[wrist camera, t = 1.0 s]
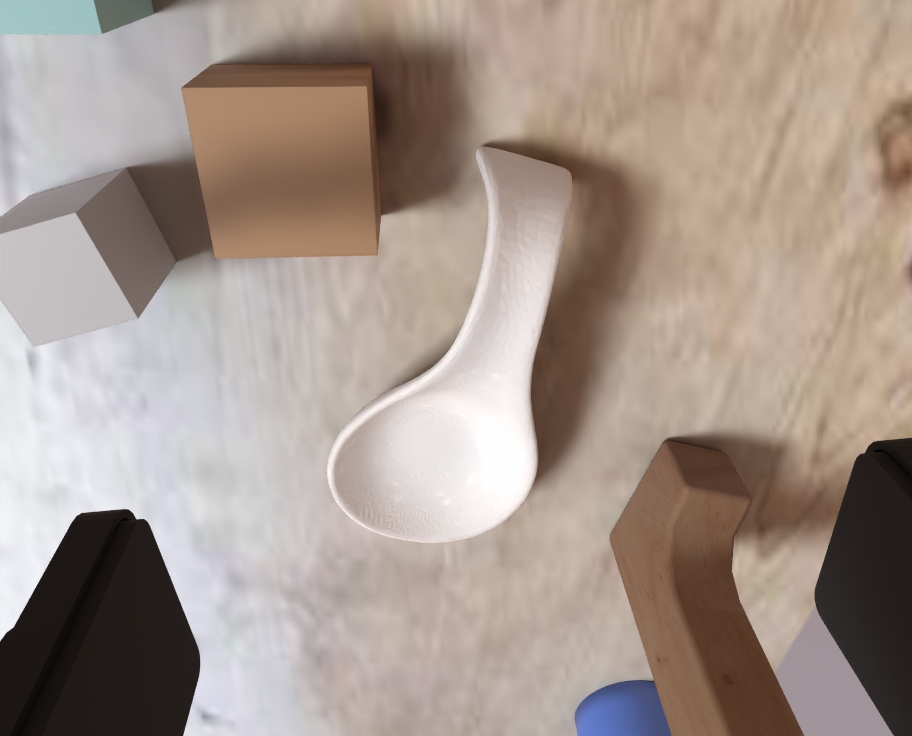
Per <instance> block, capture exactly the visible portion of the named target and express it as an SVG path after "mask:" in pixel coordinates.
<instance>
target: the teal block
mask: <svg viewBox="0 0 912 736" xmlns="http://www.w3.org/2000/svg"><path fill="white" fill-rule="evenodd" d="M153 14H154V10H153V5H152V0H0V34H103V33H106V32H108V31H111V30H113V29H116V28H119V27H121V26H124V25H127V24H129V23H132V22H134V21H137V20H140V19H142V18H145V17H148V16H150V15H153Z"/></svg>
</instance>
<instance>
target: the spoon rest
mask: <svg viewBox="0 0 912 736" xmlns="http://www.w3.org/2000/svg"><path fill="white" fill-rule="evenodd" d="M476 159H477V162H478V165H479V168H480V171H481V174H482V177H483V180H484V183H485V187H486V192H487V199H488V212H489V220H488V233H487V242H486V249H485V254H484V259H483V264H482V268H481V272H480V276H479V280H478V284H477V287H476V290H475V294H474V297H473V300H472V303H471V306H470V308H469V311H468V314H467V316H466V319H465V321H464V323H463V326H462V328H461V330H460V332H459V334H458V336H457V338H456V340H455V342H454V343H453V345H452V346H451V348H450V349H449V350H448V352H447V353H446V354H445V355H444V357H443V358H442V359H441V360H440V361H439V362H437V363H436V364H435V365H434V366H433V367H432V368H430V369H429V370H427V371H426V372H424V373H423V374H421V375H419V376H418V377H416V378H414V379H412V380H410V381H408V382H406V383H404V384H402V385H400V386H398V387H396V388H393V389H391V390H389V391H387V392H386V393H384V394H382V395H380V396H379V397H377V398H376V399H374V400H373V401H371V402H370V403H369V404H367V405H366V406H365V407H364V408H362V409H361V410H360V411H359V412H358V413H357V414H356V415H355V416H354V417H353V418H352V419H351V420H350V421H349V422H348V423H347V424H346V426H345V427H344V428H343V429H342V431H341V432H340V434H339V435H338V437H337V439H336V441H335V442H334V445H333V447H332V450H331V452H330V456H329V459H328V463H327V477H328V483H329V486H330V490H331V492H332V495H333V497H334V499H335V501H336V502H337V504H338V505H339V506H340V507H341V509H342V510H343V511H344V512H345V513H346V514H347V515H348V516H349V517H350V518H352V519H353V520H354V521H356V522H357V523H358V524H360V525H362V526H363V527H365V528H367V529H369V530H371V531H374V532H376V533H378V534H381V535H384V536H388V537H391V538H396V539H402V540H407V541H415V542H423V543H439V542H450V541H457V540H462V539H467V538H470V537H473V536H476V535H479V534H482V533H484V532H486V531H488V530H490V529H492V528H494V527H496V526H497V525H499V524H500V523H502V522H503V521H505V520H506V519H507V518H509V517H510V516H511V515H512V514H513V513H514V512H515V511H516V510H517V509H518V508H519V507H520V506H521V504H522V503H523V502H524V501H525V499H526V498H527V496H528V495H529V493H530V491H531V489H532V486H533V484H534V481H535V477H536V474H537V467H538V446H537V438H536V432H535V426H534V419H533V413H532V403H531V382H532V370H533V363H534V358H535V354H536V350H537V347H538V342H539V340H540V336H541V332H542V328H543V324H544V321H545V317H546V313H547V308H548V305H549V300H550V296H551V292H552V288H553V284H554V279H555V275H556V271H557V266H558V263H559V259H560V255H561V250H562V246H563V242H564V237H565V232H566V228H567V223H568V218H569V212H570V208H571V202H572V194H573V186H572V176H571V173H570V172H569V171H568V170H567V169H565V168H563V167H560V166H557V165H554V164H551V163H547V162H544V161H540V160H536V159H533V158H530V157H526V156H523V155H519V154H515V153H512V152H508V151H504V150H500V149H496V148H491V147H479V148H478V149H477V150H476Z"/></svg>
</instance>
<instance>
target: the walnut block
mask: <svg viewBox="0 0 912 736" xmlns="http://www.w3.org/2000/svg"><path fill="white" fill-rule="evenodd" d="M181 89H182V94H183V99H184V104H185V109H186V114H187V119H188V125H189V130H190V135H191V140H192V145H193V150H194V155H195V160H196V165H197V170H198V175H199V180H200V185H201V190H202V195H203V200H204V205H205V210H206V215H207V220H208V225H209V230H210V235H211V240H212V245H213V250H214V255H215V259H216V258H267V257H318V256H370V255H377V254H378V243H379V233H380V222H381V204H380V187H379V170H378V152H377V135H376V117H375V100H374V82H373V65H372V64H245V65H210V66H209V67H208V68H207V69H205V70H204V71H203V72H201V73H200V74H199V75H197V76H196V77H195V78H193V79H192V80H191V81H190V82H188V83H187V84H186V85H184V86H183V87H182V88H181Z"/></svg>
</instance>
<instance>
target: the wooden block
mask: <svg viewBox="0 0 912 736" xmlns="http://www.w3.org/2000/svg"><path fill="white" fill-rule="evenodd" d="M750 505H751V496H750V494H749V492H748V491H747V489H746V487H745V485H744V484H743V482H742V480H741V479H740V477H739V475H738V474H737V472H736V470H735V468H734V467H733V465H732V463H731V462H730V460H729V458H728V456H727V455H726V454H725V453H723V452H721V451H716V450H712V449H707V448H702V447H697V446H693V445H688V444H683V443H678V442H674V441H669V440H668V441H664V442H663V443H662V445H661V446H660V448H659V450H658V452H657V453H656V455H655V457H654V459H653V460H652V462H651V464H650V466H649V467H648V469H647V471H646V473H645V474H644V476H643V478H642V480H641V482H640V483H639V485H638V487H637V489H636V490H635V492H634V494H633V496H632V497H631V499H630V501H629V503H628V504H627V506H626V508H625V510H624V511H623V513H622V515H621V517H620V518H619V520H618V522H617V524H616V525H615V527H614V529H613V531H612V532H611V534H610V543H611V546H612V549H613V552H614V556H615V559H616V562H617V565H618V568H619V571H620V574H621V577H622V581H623V584H624V587H625V590H626V593H627V596H628V599H629V603H630V606H631V609H632V612H633V615H634V618H635V622H636V625H637V628H638V631H639V634H640V637H641V640H642V644H643V647H644V650H645V653H646V656H647V659H648V663H649V666H650V669H651V672H652V675H653V678H654V681H655V685H656V688H657V691H658V694H659V697H660V700H661V703H662V707H663V710H664V713H665V716H666V719H667V722H668V725H669V729H670V732H671V735H672V736H804V735H803V733H802V731H801V728H800V726H799V725H798V722H797V720H796V718H795V716H794V714H793V712H792V710H791V708H790V705H789V703H788V701H787V699H786V697H785V695H784V693H783V691H782V689H781V687H780V685H779V682H778V680H777V678H776V676H775V674H774V672H773V670H772V668H771V666H770V664H769V662H768V659H767V657H766V655H765V653H764V651H763V649H762V647H761V645H760V643H759V641H758V639H757V636H756V634H755V632H754V630H753V628H752V626H751V624H750V622H749V620H748V618H747V616H746V614H745V611H744V609H743V607H742V605H741V603H740V600H739V596H738V593H737V589H736V585H735V581H734V577H733V574H732V559H733V545H734V536H735V534H736V532H737V530H738V528H739V526H740V524H741V522H742V520H743V518H744V516H745V514H746V512H747V510H748V508H749V507H750Z"/></svg>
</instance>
